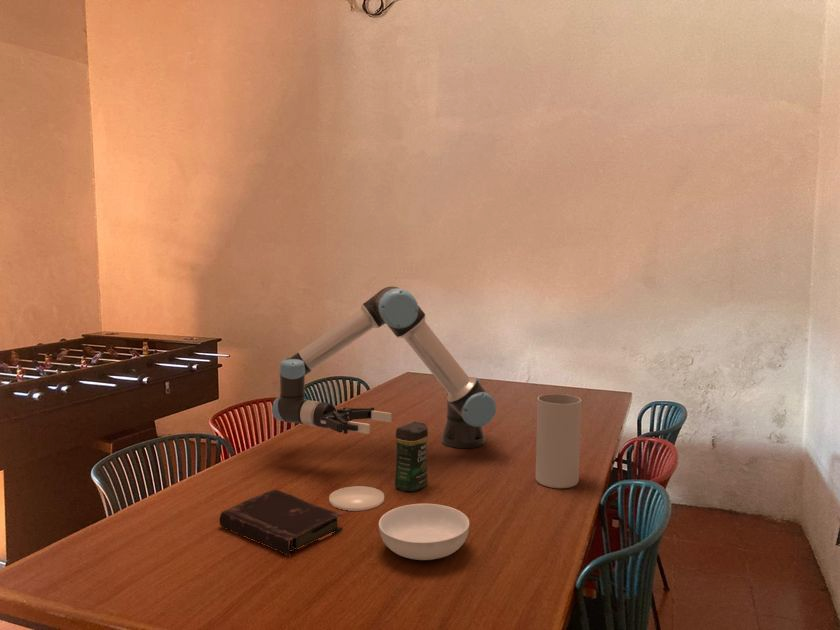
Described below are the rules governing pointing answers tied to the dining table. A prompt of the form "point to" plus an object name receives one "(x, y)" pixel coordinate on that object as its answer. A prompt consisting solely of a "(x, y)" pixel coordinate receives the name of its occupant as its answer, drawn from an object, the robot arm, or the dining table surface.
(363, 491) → the ceramic trivet
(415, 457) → the coffee jar
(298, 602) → the dining table surface
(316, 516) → the diary
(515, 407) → the dining table surface
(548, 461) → the cylinder vase
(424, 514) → the serving bowl
